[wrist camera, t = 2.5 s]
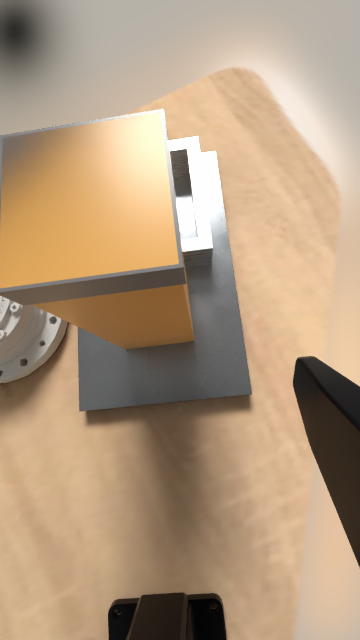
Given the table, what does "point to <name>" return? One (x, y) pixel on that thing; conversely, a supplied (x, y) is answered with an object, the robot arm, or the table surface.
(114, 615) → the robot arm
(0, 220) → the capped orange pillar
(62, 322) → the mechanical component
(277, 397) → the table surface
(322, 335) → the table surface
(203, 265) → the grey socket base plate
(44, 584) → the table surface
